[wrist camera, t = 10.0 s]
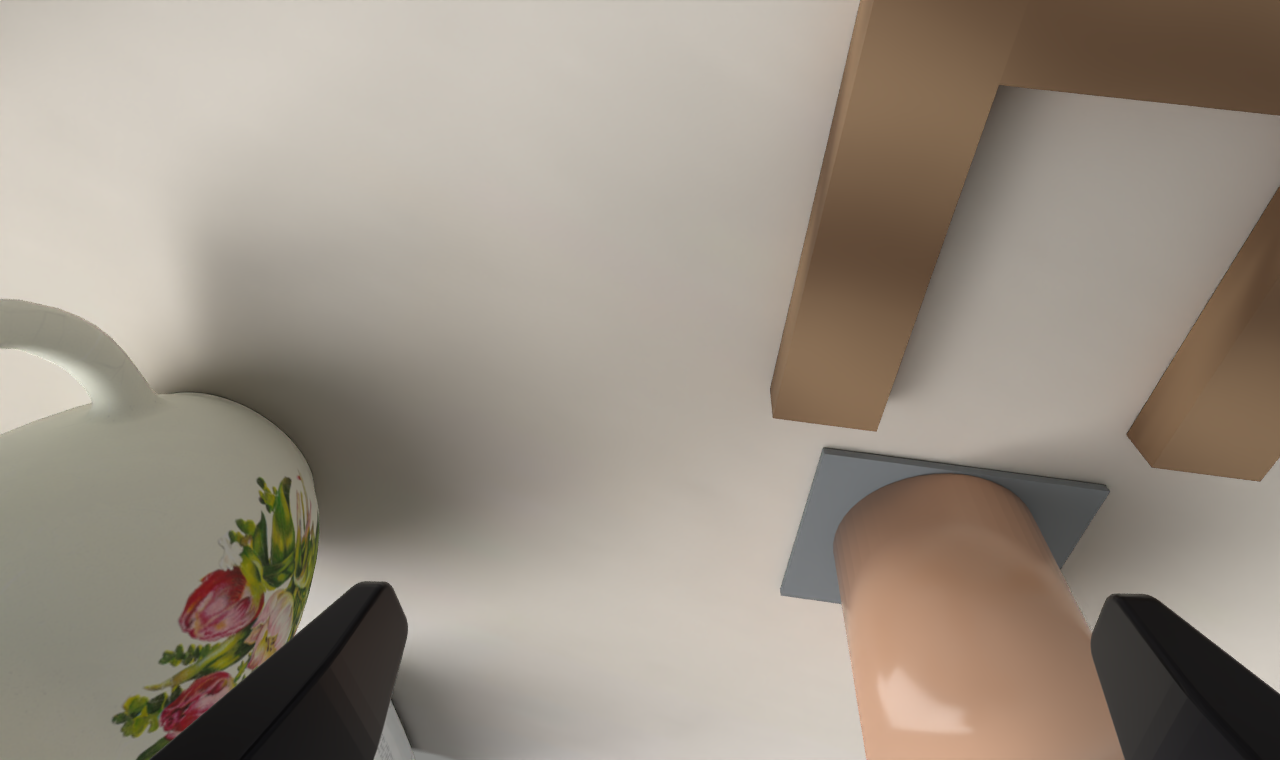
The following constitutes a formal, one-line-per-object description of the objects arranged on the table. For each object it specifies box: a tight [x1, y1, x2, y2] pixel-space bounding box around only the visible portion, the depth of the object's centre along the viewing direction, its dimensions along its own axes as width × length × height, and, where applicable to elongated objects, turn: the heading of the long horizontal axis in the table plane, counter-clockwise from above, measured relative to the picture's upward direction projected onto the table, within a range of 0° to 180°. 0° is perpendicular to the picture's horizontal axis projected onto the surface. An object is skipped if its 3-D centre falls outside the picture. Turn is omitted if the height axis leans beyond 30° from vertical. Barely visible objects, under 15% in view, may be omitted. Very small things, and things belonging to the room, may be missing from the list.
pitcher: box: [0, 299, 319, 760], centre depth 19 cm, size 11×18×14 cm, turn 175°
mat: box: [780, 448, 1110, 604], centre depth 24 cm, size 7×9×1 cm
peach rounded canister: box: [833, 474, 1124, 760], centre depth 21 cm, size 10×7×8 cm
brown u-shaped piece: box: [770, 0, 1280, 481], centre depth 17 cm, size 12×14×2 cm
